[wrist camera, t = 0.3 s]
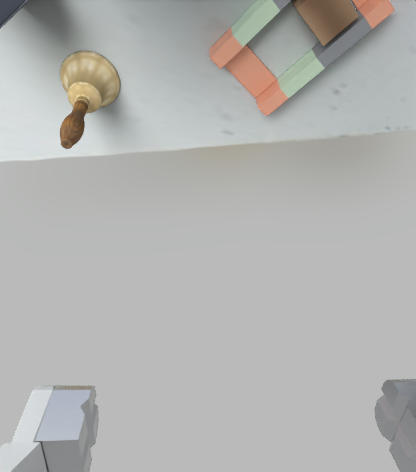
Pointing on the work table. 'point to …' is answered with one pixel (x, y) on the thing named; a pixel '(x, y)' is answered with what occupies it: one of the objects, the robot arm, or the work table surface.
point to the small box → (9, 9)
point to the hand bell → (86, 90)
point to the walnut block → (326, 16)
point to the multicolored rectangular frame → (311, 64)
